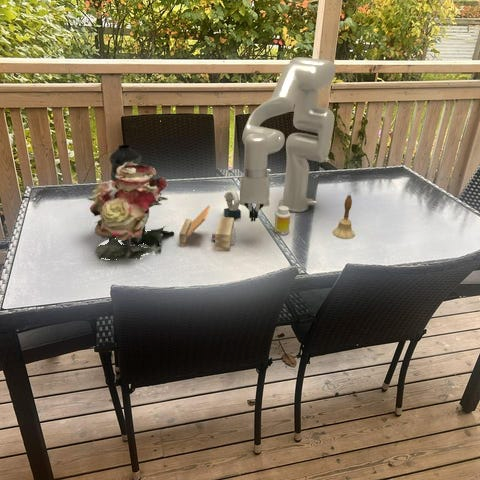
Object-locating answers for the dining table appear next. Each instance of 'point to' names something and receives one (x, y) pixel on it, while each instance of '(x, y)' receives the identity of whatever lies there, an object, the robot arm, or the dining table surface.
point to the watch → (232, 205)
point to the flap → (198, 221)
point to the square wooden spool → (220, 237)
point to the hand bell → (345, 222)
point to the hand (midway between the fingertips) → (253, 219)
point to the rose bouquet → (128, 212)
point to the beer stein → (123, 159)
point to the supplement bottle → (282, 220)
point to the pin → (231, 236)
